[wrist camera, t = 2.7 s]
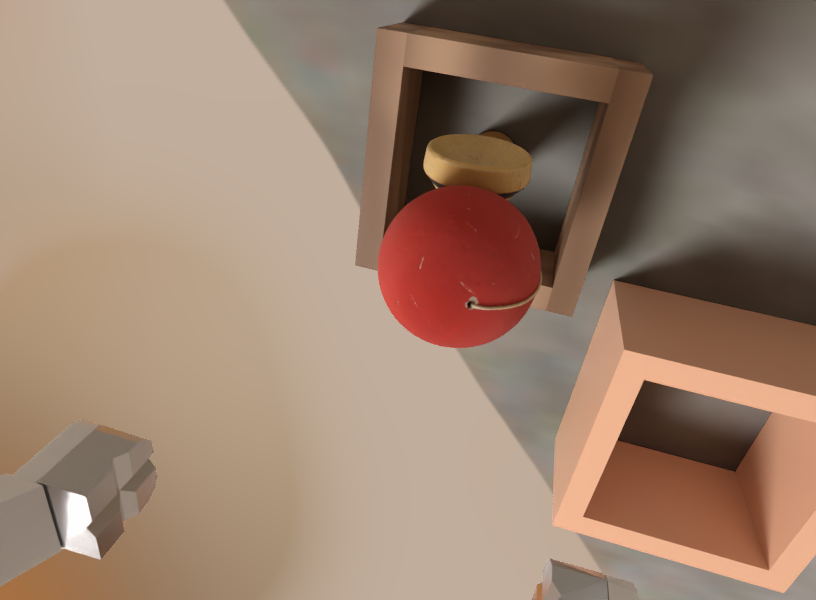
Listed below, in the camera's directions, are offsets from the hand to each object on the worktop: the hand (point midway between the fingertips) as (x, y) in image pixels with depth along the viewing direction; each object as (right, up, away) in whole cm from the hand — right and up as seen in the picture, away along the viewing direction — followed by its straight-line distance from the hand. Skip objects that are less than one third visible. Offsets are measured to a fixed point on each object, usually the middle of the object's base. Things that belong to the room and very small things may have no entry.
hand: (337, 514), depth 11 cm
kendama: (+7, +13, +23) cm, 27 cm away
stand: (+20, -2, +27) cm, 34 cm away
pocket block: (+6, +13, +23) cm, 27 cm away
